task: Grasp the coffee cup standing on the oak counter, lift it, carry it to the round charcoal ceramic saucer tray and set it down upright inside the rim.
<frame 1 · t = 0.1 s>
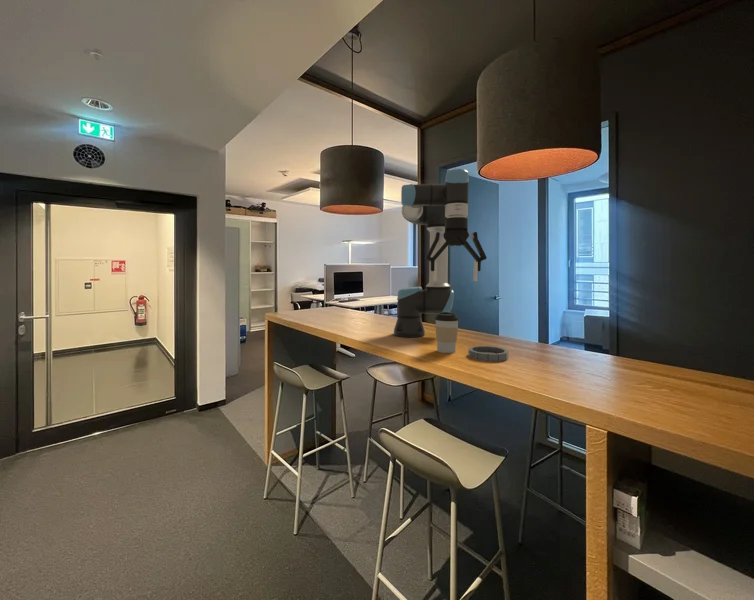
hand: (455, 281, 119), 28 cm above the table, fingers open, 13 cm apart
coffee cup: (446, 351, 137), on the table
tray: (487, 356, 128), on the table
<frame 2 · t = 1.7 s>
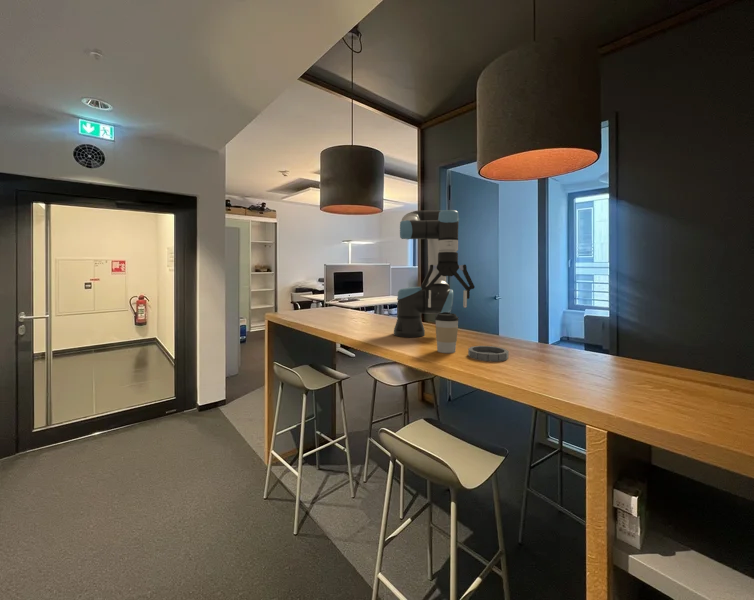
hand: (447, 307, 135), 17 cm above the table, fingers open, 13 cm apart
nothing on the table moved.
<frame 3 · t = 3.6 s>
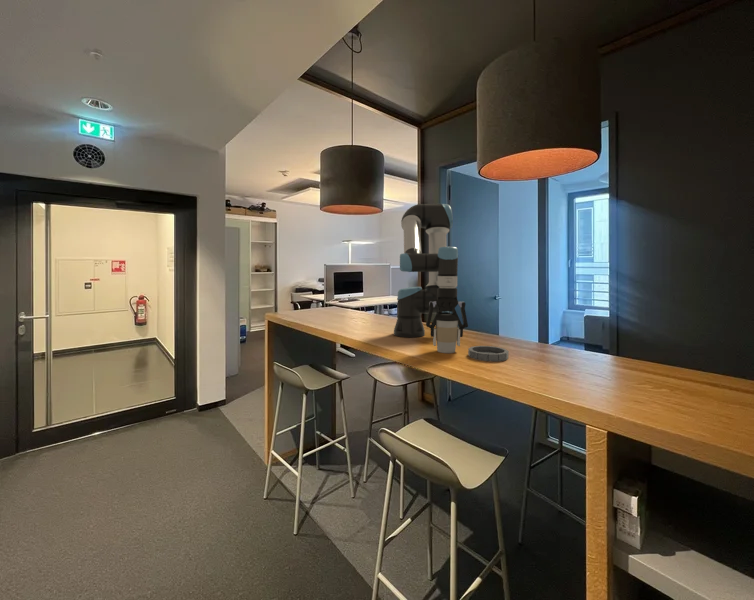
hand: (446, 345, 136), 2 cm above the table, fingers closed on coffee cup, 8 cm apart
coffee cup: (446, 351, 137), on the table, touching gripper
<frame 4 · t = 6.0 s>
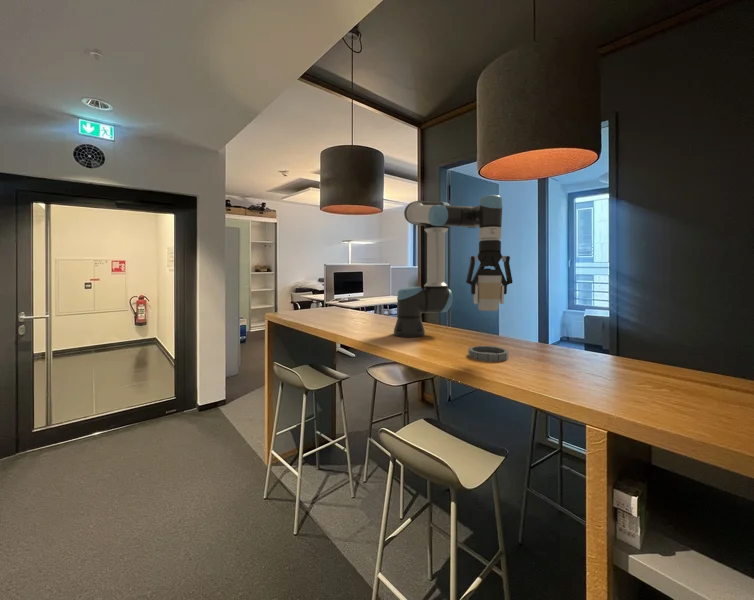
hand: (488, 303, 126), 20 cm above the table, fingers closed on coffee cup, 8 cm apart
coffee cup: (488, 310, 126), point 17 cm above the table, touching gripper
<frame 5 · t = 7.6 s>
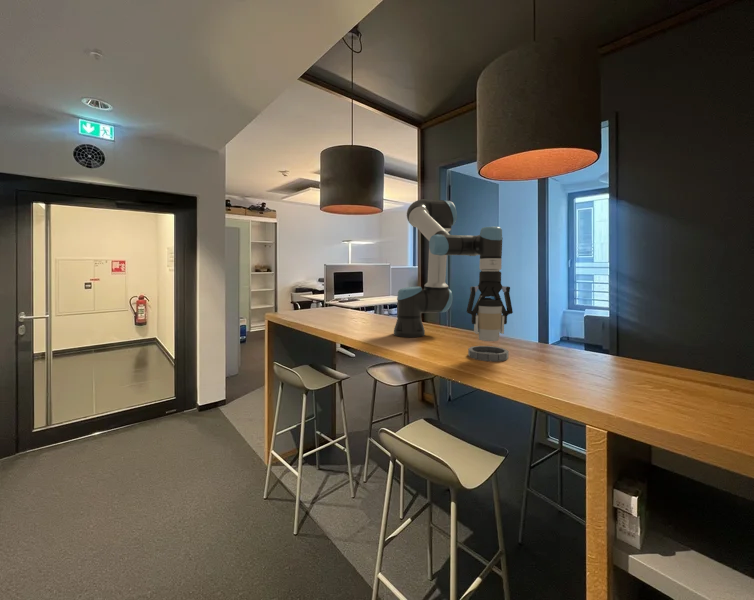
hand: (488, 333, 127), 9 cm above the table, fingers closed on coffee cup, 8 cm apart
coffee cup: (488, 340, 127), point 6 cm above the table, touching gripper
when the fingers open (5 cm above the table, at t = 8.7 s): coffee cup drops 2 cm, resting on tray.
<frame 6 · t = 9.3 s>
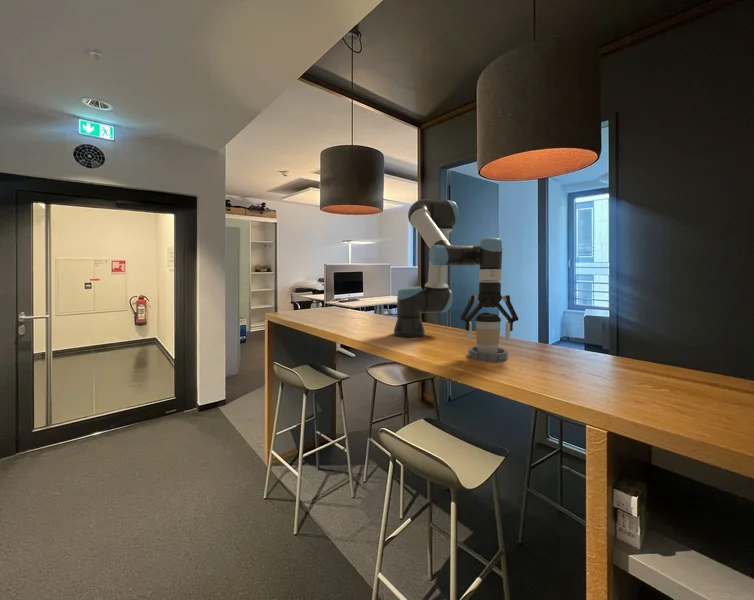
hand: (488, 339, 127), 6 cm above the table, fingers open, 13 cm apart
coffee cup: (487, 354, 128), point 1 cm above the table, touching tray
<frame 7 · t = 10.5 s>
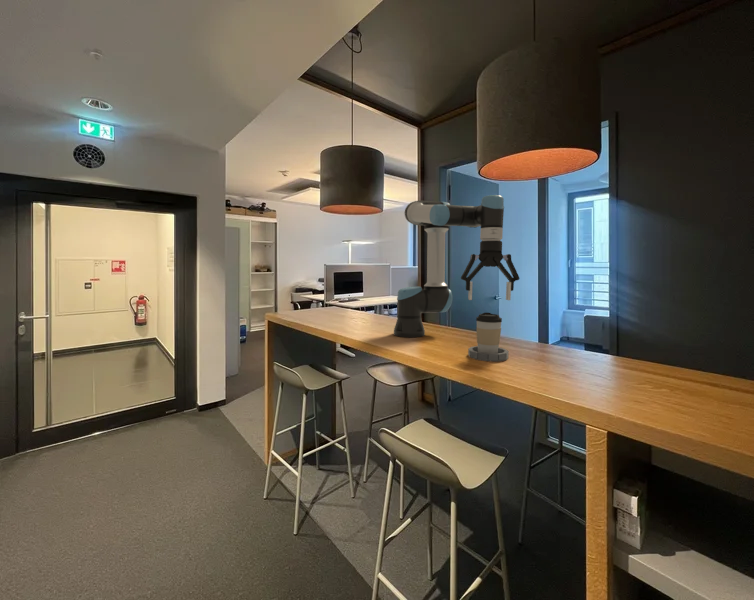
hand: (489, 299, 126), 21 cm above the table, fingers open, 13 cm apart
nothing on the table moved.
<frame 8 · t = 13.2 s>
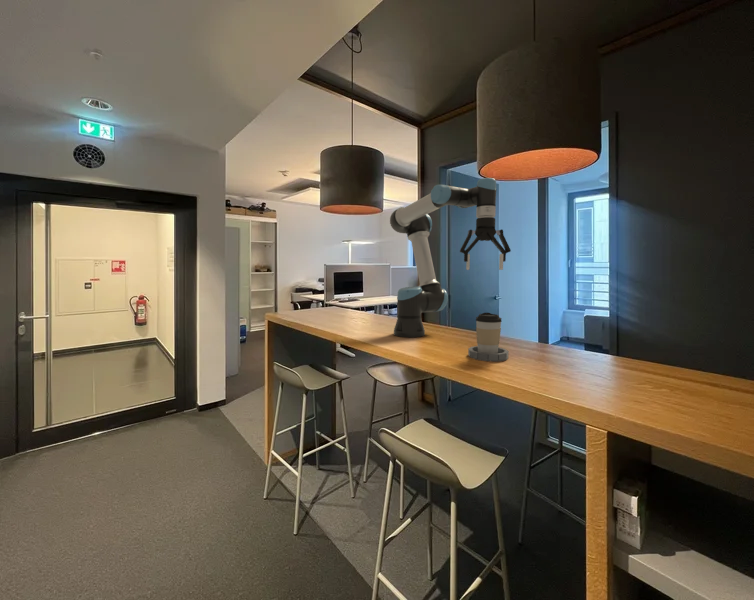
hand: (484, 269, 145), 32 cm above the table, fingers open, 13 cm apart
nothing on the table moved.
at the end: coffee cup 0.2 cm from the tray (horizontally); coffee cup tilted 1°; coffee cup point 0.6 cm above the table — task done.
